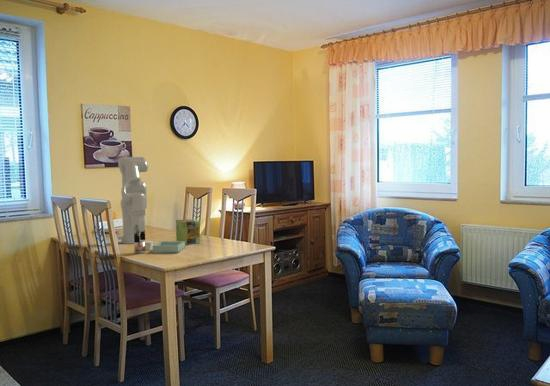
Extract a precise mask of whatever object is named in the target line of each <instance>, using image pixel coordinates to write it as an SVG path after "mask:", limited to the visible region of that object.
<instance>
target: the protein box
mask: <svg viewBox="0 0 550 386" xmlns="http://www.w3.org/2000/svg"><path fill="white" fill-rule="evenodd" d="M200 224H201V223H200V220H196V219H190V218H187V219H186V218H185V219H176V220H175V234H176V235H175V241H185V246H191V245H196V244H200V243H201V226H200Z"/></svg>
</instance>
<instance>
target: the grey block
mask: <svg viewBox="0 0 550 386" xmlns="http://www.w3.org/2000/svg"><path fill="white" fill-rule="evenodd" d="M144 241H145V251H151V250H152V251H153V245H155V244H154V240H144Z"/></svg>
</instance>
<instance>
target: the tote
mask: <svg viewBox="0 0 550 386" xmlns="http://www.w3.org/2000/svg"><path fill="white" fill-rule="evenodd" d="M185 249H186V245H185V241H176V240H173V241H170V240H169V241H168V240H166V241H164V240H160V241H159V242H157V243H155V244H154V245H153V249H152V254H179V253H180V252H182V251H183V250H185ZM181 250H182V251H181Z"/></svg>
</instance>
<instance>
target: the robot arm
mask: <svg viewBox="0 0 550 386" xmlns="http://www.w3.org/2000/svg"><path fill="white" fill-rule="evenodd" d="M117 163H118V165H117V166H118V168H119V171H120V174H121V183H122V185H121V192H120V193H121V199H120V207H121V214H122V218H121V219H122V236H117V240H121V241H120V243H121V244H122V245H123V244H125V245H129V244H132V245H133V244H134V242H135V243H139V242H140V241H146V217H145V216H146V209H147V207H148V203H147V202H148V201H147V200H148V199H147V197H148V195H147V185H146V183H145V182H144V181H143V180H142V181H141V173H146V172H148V170H149V163H148V161H147V159H146V158H145V157H144V156H125V157H124V156H123V157H120V158H118V161H117Z"/></svg>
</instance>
